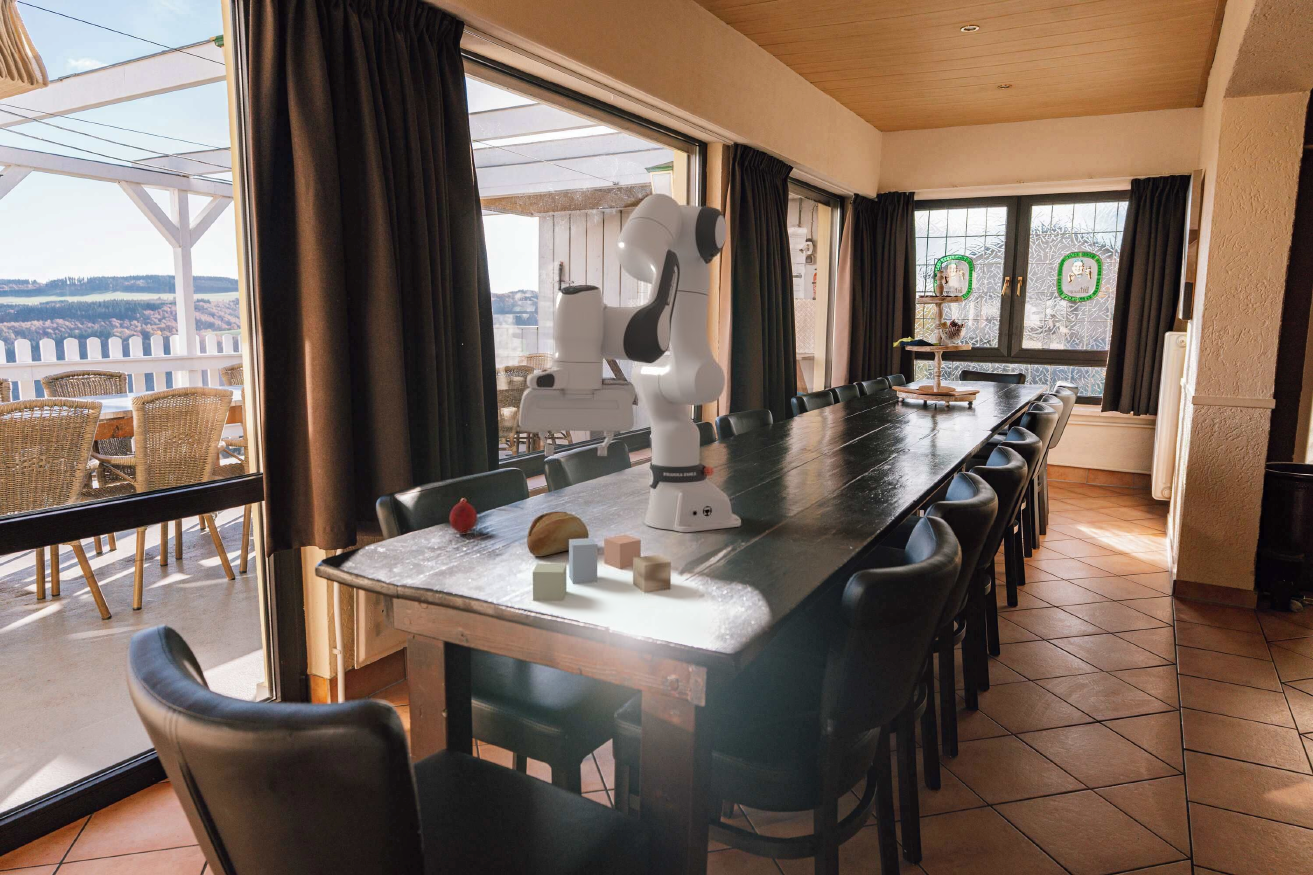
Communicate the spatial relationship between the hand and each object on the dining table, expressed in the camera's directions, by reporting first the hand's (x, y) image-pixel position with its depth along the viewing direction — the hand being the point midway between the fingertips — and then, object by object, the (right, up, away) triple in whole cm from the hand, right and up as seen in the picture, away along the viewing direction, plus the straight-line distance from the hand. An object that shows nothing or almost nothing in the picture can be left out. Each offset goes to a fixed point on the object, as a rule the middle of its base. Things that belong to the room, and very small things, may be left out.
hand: (575, 455), depth 147 cm
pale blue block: (+1, -22, +2) cm, 22 cm away
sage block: (-4, -24, -7) cm, 25 cm away
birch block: (+14, -23, -2) cm, 27 cm away
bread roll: (-6, -20, +21) cm, 30 cm away
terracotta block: (+8, -21, +12) cm, 26 cm away
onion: (-28, -18, +34) cm, 47 cm away
